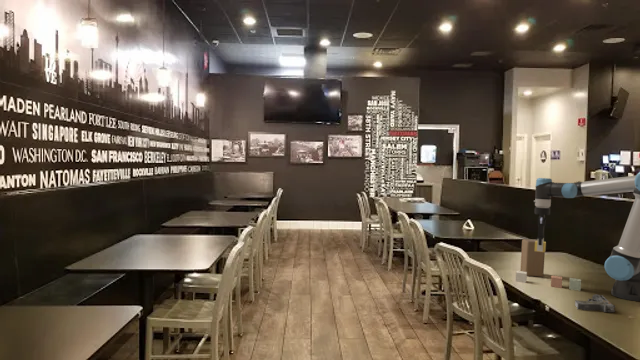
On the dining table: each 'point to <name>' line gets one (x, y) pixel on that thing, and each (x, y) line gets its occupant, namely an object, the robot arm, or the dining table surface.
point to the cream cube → (521, 276)
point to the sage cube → (575, 284)
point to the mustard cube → (543, 246)
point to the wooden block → (531, 259)
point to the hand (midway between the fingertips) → (540, 250)
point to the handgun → (595, 304)
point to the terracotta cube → (556, 281)
